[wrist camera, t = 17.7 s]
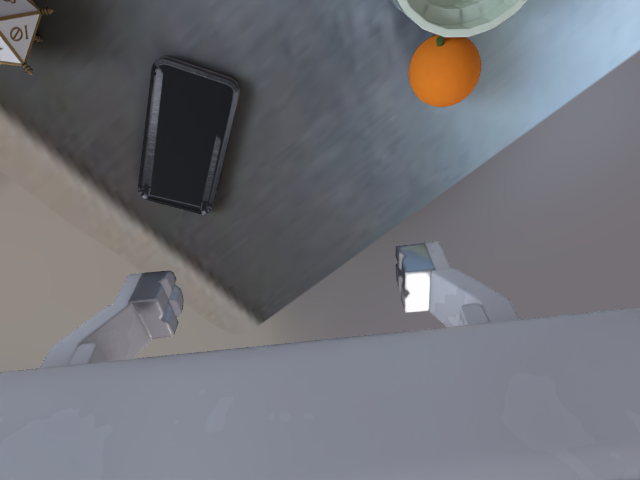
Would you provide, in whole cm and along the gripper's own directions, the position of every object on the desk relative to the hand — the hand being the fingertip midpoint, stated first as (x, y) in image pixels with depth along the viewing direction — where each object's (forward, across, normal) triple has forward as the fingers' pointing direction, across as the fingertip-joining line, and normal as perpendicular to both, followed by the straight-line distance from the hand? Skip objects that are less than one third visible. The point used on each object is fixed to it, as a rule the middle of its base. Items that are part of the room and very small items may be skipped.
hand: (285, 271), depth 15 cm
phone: (+29, +12, +6) cm, 32 cm away
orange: (+26, -13, +1) cm, 29 cm away
